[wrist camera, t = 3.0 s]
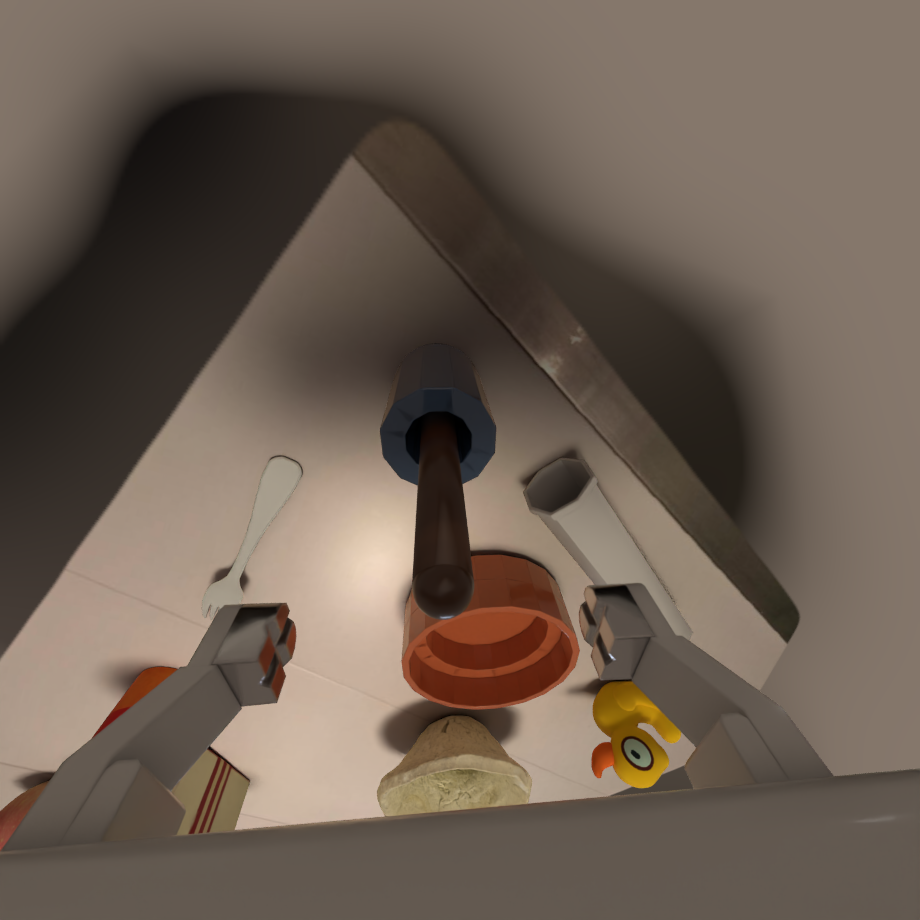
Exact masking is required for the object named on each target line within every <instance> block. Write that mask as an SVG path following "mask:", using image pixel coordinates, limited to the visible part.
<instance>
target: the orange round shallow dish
mask: <svg viewBox="0 0 920 920" xmlns="http://www.w3.org/2000/svg"><path fill="white" fill-rule="evenodd" d="M471 560H472V569H473V577H474V594H473V598H472V600H471V602H470V604H469V606H468V607H467V608H466V609H465V610H464V611H463V612H462V613H461V614H460V615H458V616H456V617H454V618H451V619H447V620H439V619H435V618H431V617H429V616H427V615H426V614H425V613H423V612H422V611H421V610H420V609H419V607H418V606H417V604H416V602H415V600H414V597H413V592H412V591H411V594H410V596H409V599H408V601H407V604H406V607H405V620H404V634H403V648H402V669H403V676H404V678H405V680H406V681H407V682H408V684H409V685H410V686H411V688H412V689H413V690H414V691H415V692H417V693H418V694H420V695H422V696H423V697H425V698H426V699H428V700H430V701H432V702H435V703H439V704H442V705H445V706H449V707H453V708H463V709H473V710H478V709H493V708H502V707H506V706H511V705H515V704H520V703H523V702H527V701H529V700H531V699H534V698H536V697H539V696H541V695H543V694H545V693H547V692H548V691H550V690H551V689H553V688H554V687H556V686H557V685H559V684H560V683H562V682H563V681H564V680H565V679H566V677H567V676H568V675H569V674H570V673H571V671H572V670H573V669H574V668H575V665H576V662H577V659H578V655H579V652H580V650H579V646H578V642H577V638H576V634H575V631H574V629H573V626H572V623H571V620H570V617H569V615H568V612H567V609H566V606H565V603H564V601H563V598H562V595H561V592H560V589H559V587H558V584H557V583H556V581H555V580H554V579H553V578H552V577H551V576H550V575H549V574H548V572H547V571H546V570H545V569H543V568H541V567H539V566H537V565H535V564H533V563H531V562H529V561H528V560H525V559H521V558H516V557H510V556H505V555H478V556H471Z"/></svg>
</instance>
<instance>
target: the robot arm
mask: <svg viewBox="0 0 920 920" xmlns="http://www.w3.org/2000/svg"><path fill="white" fill-rule="evenodd" d="M584 597H585V600H586V601H585V602H584V603H583V604H582V605H581V606H580V611H579V623H580V627H581V632H582V634H583V637H584V640H585V641H586V642H587V643H589V644H590V645H591V646H592V647H593V650H592V653H591V658H592V660H593V663H594V666H595V668H596V671H597V673H598V676H599V678H600V680H621V679H632V682H633V683H634V684H635V685H636V686H637V687H638V688H639V689H640V690H641V691H642V692H643V693H644V694H645V695H646V696H647V697H648V698H649V699H650V700H651V701H652V702H653V703H654V704H655V705H656V706H657V708H658V709H659V710H660V711H661V712H662V713H663V714H664V715H665V716H666V717H667V718H668V719H669V720H670V721H671V722H672V723H673V724H674V725H675V726H676V727H677V728H678V729H679V730H680V731H681V732H682V733H683V734H684V735H685V736H686V737H687V738H688V739H689V740H690V741H691V742H692V743H693V744H694V746H695V747H696V749H695V751H694V752H693V753H692V755H691V756H690V758H689V759H688V760H687V762H686V765H685V767H684V768H685V771H686V773H687V775H688V777H689V779H690V781H691V783H692V786H693V788H694V789H686V790H675V791H665V792H653V793H642V794H631V795H620V796H608V797H597V798H586V799H575V800H564V801H553V802H542V803H530V804H519V805H508V806H497V807H486V808H475V809H464V810H453V811H442V812H430V813H419V814H408V815H397V816H386V817H375V818H364V819H353V820H341V821H330V822H319V823H308V824H297V825H286V826H275V827H264V828H253V829H242V830H231V831H219V832H208V833H197V834H186V835H177V833H178V830H179V828H180V825H181V823H182V821H183V818H184V816H185V813H186V809H185V806H184V804H183V803H182V802H181V801H180V800H179V799H178V798H177V797H176V796H175V795H174V794H173V793H172V792H171V790H172V789H173V788H174V787H175V786H176V784H177V783H178V782H179V781H180V780H181V779H182V777H183V776H184V775H185V774H186V773H187V772H188V770H189V769H190V768H191V767H192V766H193V765H194V764H195V762H196V761H197V760H198V759H199V758H200V757H201V755H202V754H203V753H204V752H205V751H206V750H207V748H208V747H209V746H210V745H211V744H212V743H213V741H214V740H215V739H216V738H217V737H218V736H219V734H220V733H221V732H222V731H223V730H224V729H225V727H226V726H227V725H228V724H229V723H230V722H231V720H232V719H233V718H234V717H235V716H236V715H237V714H238V712H239V711H240V710H241V709H242V708H241V706H251V705H261V704H271V703H277V701H278V698H279V695H280V692H281V689H282V686H283V683H284V680H285V677H286V675H285V672H284V670H283V667H284V666H285V665H286V664H287V663H288V662H289V661H290V660H291V659H292V655H293V652H294V649H295V643H296V627H295V624H294V622H293V621H292V620H290V619H289V618H287V617H288V614H289V612H290V610H289V608H288V605H287V603H259V604H231V605H224V606H223V607H222V608H221V609H220V610H219V611H218V612H217V614H216V616H215V618H214V620H213V621H212V623H211V625H210V627H209V628H208V630H207V632H206V634H205V635H204V637H203V639H202V641H201V642H200V644H199V646H198V648H197V649H196V651H195V653H194V655H193V657H192V658H191V660H190V662H189V664H188V665H187V666H186V667H180V668H179V669H177V670H176V671H175V672H174V673H173V674H171V675H170V676H169V677H168V678H166V679H165V680H164V681H163V682H161V683H160V684H159V685H158V686H156V687H155V688H154V689H153V690H151V691H150V692H149V693H148V694H147V695H145V696H144V697H143V698H142V699H140V700H139V701H138V702H137V703H135V704H134V705H133V706H132V707H130V708H129V709H128V710H127V711H126V712H124V713H123V714H122V715H121V716H119V717H118V718H117V719H116V720H114V721H113V722H112V723H111V724H109V725H108V726H107V727H106V728H104V729H103V730H102V731H101V732H100V733H98V734H97V735H96V736H95V737H93V738H92V739H91V740H90V741H88V742H87V743H86V744H85V745H83V746H82V747H81V748H80V749H78V750H77V751H76V752H75V753H74V754H72V755H71V756H70V757H69V758H67V759H66V760H65V761H64V762H63V763H62V764H61V765H60V767H59V768H58V770H57V771H56V773H55V774H54V775H53V777H52V778H51V780H50V781H49V783H48V784H47V785H46V787H45V788H44V790H43V791H42V793H41V794H40V795H39V797H38V798H37V800H36V801H35V803H34V804H33V805H32V807H31V808H30V810H29V811H28V813H27V814H26V815H25V817H24V818H23V820H22V821H21V823H20V824H19V825H18V827H17V828H16V830H15V831H14V833H13V834H12V835H11V837H10V838H9V840H8V841H7V843H6V844H5V845H4V847H3V848H2V850H1V851H0V920H920V769H909V770H897V771H887V772H876V773H865V774H853V775H842V776H833V775H832V773H831V772H830V771H829V769H828V768H827V766H826V765H825V764H824V762H823V761H822V760H821V759H820V757H819V756H818V754H817V753H816V752H815V750H814V749H813V748H812V746H811V745H810V744H809V742H808V741H807V740H806V738H805V737H804V736H803V734H802V733H801V732H800V730H799V729H798V728H797V727H796V725H795V724H794V722H793V721H792V720H791V718H790V717H789V716H788V714H787V713H786V712H785V710H784V709H783V708H782V707H781V706H779V705H778V704H777V703H775V702H774V701H773V700H771V699H770V698H768V697H767V696H766V695H764V694H762V693H761V692H760V691H759V690H757V689H756V688H754V687H753V686H752V685H750V684H749V683H747V682H746V681H745V680H743V679H742V678H740V677H739V676H738V675H736V674H735V673H733V672H732V671H731V670H729V669H728V668H726V667H725V666H724V665H722V664H721V663H719V662H718V661H717V660H715V659H714V658H712V657H711V656H710V655H708V654H707V653H705V652H704V651H703V650H701V649H700V648H698V647H697V646H696V645H694V644H693V643H691V642H690V641H689V640H687V639H686V638H684V637H683V636H676V635H675V633H674V631H673V630H672V628H671V627H670V625H669V623H668V622H667V620H666V619H665V617H664V615H663V614H662V612H661V611H660V609H659V607H658V606H657V604H656V603H655V601H654V599H653V598H652V596H651V595H650V593H649V591H648V590H647V588H646V587H645V586H644V585H643V584H642V583H628V584H606V585H592V586H587V587H586V588H585V591H584Z"/></svg>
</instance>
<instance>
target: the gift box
mask: <svg viewBox="0 0 920 920" xmlns="http://www.w3.org/2000/svg"><path fill="white" fill-rule="evenodd" d="M249 783H250V781H249V780H248V779H247V778H245V777H244V776H243V775H241V774H240V773H239V772H238V771H236V770H235V769H234V768H233V767H231V766H230V765H229V764H228V763H227V762H225V761H224V760H223V759H221V758H220V757H218V756H217V755H216V754H215V753H213V752H212V751H211V750H209V749H208V748H207V750H206V751H205V752H204V753H203V754H202V755H201V757H200V758H199V759H198V760H197V761H196V762H195V764H194V765H193V766H192V767H191V768H190V769H189V770H188V772H187V773H186V774H185V775H184V776H183V777H182V779H181V780H180V781H179V782H178V783H177V784H176V786H175V787H174V788H173V789H172V790H171V792H172V793H173V794H174V795H175V796H176V797H177V798H178V799H179V800H180V801H181V802H182V803H183V804H184V806H185V809H186V813H185V816H184V818H183V821H182V823H181V825H180V828H179V830H178V833H177V835H186V834H197V833H208V832H219V831H231V830H235V827H236V823H237V820H238V817H239V814H240V811H241V808H242V805H243V802H244V799H245V795H246V792H247V789H248V786H249Z"/></svg>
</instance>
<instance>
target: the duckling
mask: <svg viewBox="0 0 920 920" xmlns="http://www.w3.org/2000/svg"><path fill="white" fill-rule="evenodd" d="M593 717H594V720H595V722H596V724H597V726H598V727H599V728H600V729H601V731H602V732H604V733H605V734H606V735H608V736H609V737H611V743H610V742H604V743H601V744H599V745H598V746H597V747H596V748H595V749H594V751H593V753H592V770H593V772H594V774H595V776H596V777H597V778H601V776H602V771H603V770H604V769H605V768H607V767H609V766H613V768H614V770H615V772H616V774H617V775H618V776H619V778H620V779H621V780H623V781H624V782H625V783H627V784H629V785H631V786H633V787H637V788H647V787H650V786H652V785H653V784H654V783H655V782H656V781H657V780H658V778H659V777H660V775H661V774H662V773H663V771H664V770H665V769H666V768H667V767H668V765H669V759H668V756H667V754H666V752H665V751H664V749H663V748H662V747H661V746H660V745H659V744H658V743H657V742H656V741H655V740H654V738H653V737H652V736H651V735H650V734H648V733H647V732H646V731H644V730H642V729H640V728H638V727H637V726H638V723H647V724H650V725H652V726H653V727H654V728H655V729H656V731H657V732H658V733H659V734H660V735H661V737H662V738H663V739H664V740H666V741H667V742H669V743H675V742H677V741H678V740H679V739H680V736H681V731H680V730H679V729H678V728H677V727H676V726H675V725H674V724H673V723H672V722H671V721H670V720H669V719H668V718H667V717H666V716H665V715H664V714H663V713H662V712H661V711H660V710H659V709H658V708H657V706H656V705H655V704H654V703H653V702H652V701H651V700H650V699H649V698H648V697H647V696H646V695H645V694H644V693H643V692H642V691H641V690H640V689H639V688H638V687H637V686H636V685H635V684H634V683H633V682H632V681H620V682H610V683H607V684H605V685H604V686H603V687H602V688H601V689H600V691H599V692H598V694H597V696H596V698H595V700H594V703H593Z"/></svg>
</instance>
